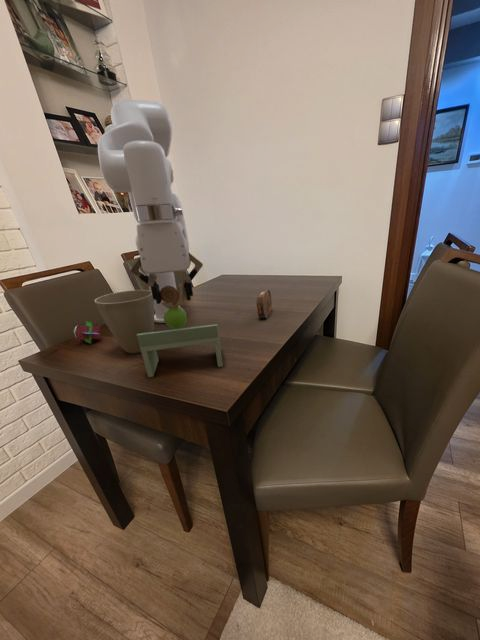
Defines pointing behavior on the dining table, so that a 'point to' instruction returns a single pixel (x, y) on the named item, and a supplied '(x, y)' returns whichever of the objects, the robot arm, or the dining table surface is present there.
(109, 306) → the plant pot
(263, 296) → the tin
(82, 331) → the geometric puzzle
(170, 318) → the snail figurine
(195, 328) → the shelf
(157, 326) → the dining table surface
